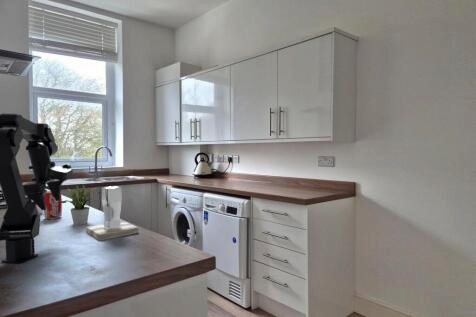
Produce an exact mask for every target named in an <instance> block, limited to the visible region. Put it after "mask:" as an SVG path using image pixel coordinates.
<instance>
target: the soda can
mask: <svg viewBox="0 0 476 317" xmlns="http://www.w3.org/2000/svg"><path fill="white" fill-rule="evenodd" d="M44 197H45V204H46V210H43V215H44V216H43V217H44V218H45V219H46V220H55V219H59V218H60V217H61V216H62V212H63V210H62V209H63V201H62V199H63V198H62V194H61V193H60V200H59V201H56V199H55V198H54V196H53V194H52V193H51V191H50V190H47V191H46V193H45V194H44Z"/></svg>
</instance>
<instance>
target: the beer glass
mask: <svg viewBox="0 0 476 317" xmlns="http://www.w3.org/2000/svg"><path fill="white" fill-rule="evenodd" d="M122 194H123V193H122V186H121V185H120V186H117V185H114V186H113V185H110V186H103V187H101V205H102V206H101V207H102V211H103V216H104V222H103V224H104V229H117V228H120V227H121V223H120V221H121V218H120V217H121V209H122V205H123V204H122V203H123V195H122Z"/></svg>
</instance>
